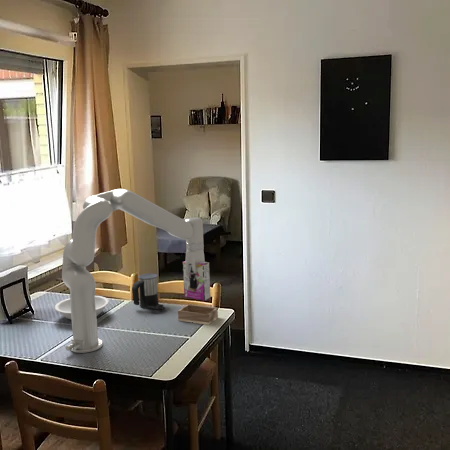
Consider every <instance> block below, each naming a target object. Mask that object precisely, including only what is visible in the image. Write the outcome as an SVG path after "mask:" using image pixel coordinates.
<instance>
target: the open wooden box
mask: <svg viewBox="0 0 450 450" xmlns="http://www.w3.org/2000/svg"><path fill="white" fill-rule="evenodd" d="M218 309H219V308H218V307H213V306H212V307H211V306H205V305H204V306H203V305H197V304H196V305H195V304H186V305H184V306H183V307H181V308H180V309H178V310H177V321H179V322H180V321H181V322H186V323H192V322H193V323H194V324H201V325H207V326H208V325H211V324H212V323H214V321H216V320H217V319H218V318H219V312H218V311H219V310H218Z"/></svg>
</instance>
